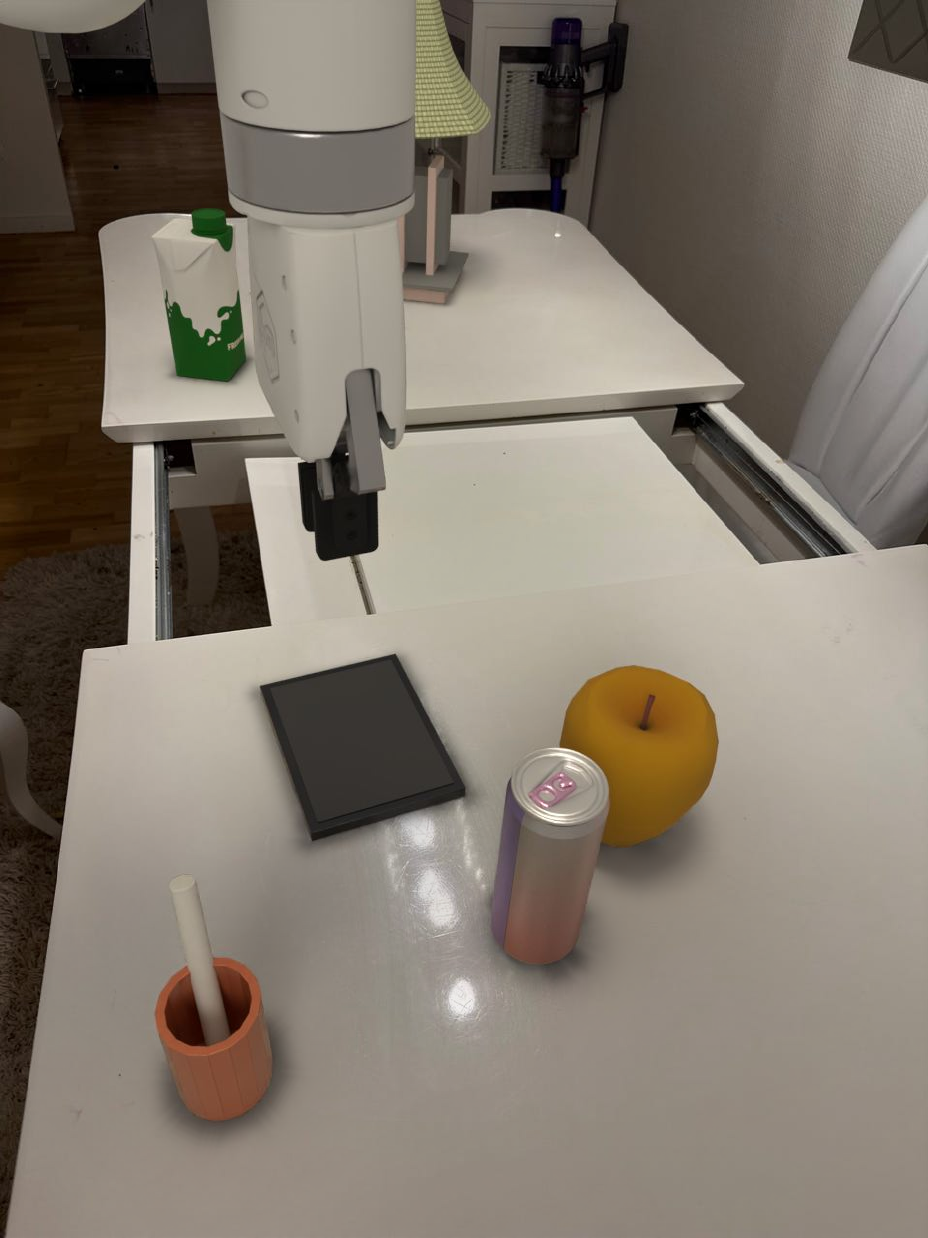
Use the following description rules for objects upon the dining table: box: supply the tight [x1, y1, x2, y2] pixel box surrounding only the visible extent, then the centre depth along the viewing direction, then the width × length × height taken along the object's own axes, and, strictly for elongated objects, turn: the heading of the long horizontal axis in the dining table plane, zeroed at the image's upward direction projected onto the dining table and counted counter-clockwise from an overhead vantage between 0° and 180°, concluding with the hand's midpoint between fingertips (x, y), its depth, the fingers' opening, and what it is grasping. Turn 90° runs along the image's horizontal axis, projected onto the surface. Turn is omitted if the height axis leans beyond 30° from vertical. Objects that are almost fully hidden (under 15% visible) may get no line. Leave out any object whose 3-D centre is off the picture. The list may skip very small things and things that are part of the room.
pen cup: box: [154, 956, 274, 1122], centre depth 51 cm, size 5×5×8 cm
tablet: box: [259, 653, 467, 842], centre depth 74 cm, size 12×16×1 cm
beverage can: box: [490, 746, 610, 965], centre depth 57 cm, size 6×6×15 cm
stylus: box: [168, 873, 231, 1047], centre depth 51 cm, size 1×1×13 cm
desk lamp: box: [397, 0, 492, 304], centre depth 139 cm, size 26×28×40 cm
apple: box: [559, 664, 720, 849], centre depth 65 cm, size 11×11×13 cm
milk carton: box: [150, 207, 247, 382], centre depth 118 cm, size 9×9×20 cm
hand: (340, 536), depth 49 cm, fingers closed
